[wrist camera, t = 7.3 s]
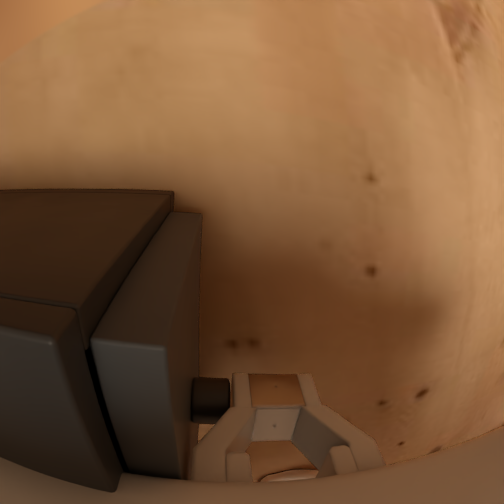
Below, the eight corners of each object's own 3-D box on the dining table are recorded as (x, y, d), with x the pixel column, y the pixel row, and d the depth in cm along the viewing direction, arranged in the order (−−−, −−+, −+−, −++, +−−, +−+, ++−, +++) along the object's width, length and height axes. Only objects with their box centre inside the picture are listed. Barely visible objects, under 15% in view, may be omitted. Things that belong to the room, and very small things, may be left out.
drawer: (235, 215, 12) (253, 352, 4) (222, 414, 15) (227, 550, 8) (-54, 207, 10) (-162, 266, 3) (-9, 373, 14) (-64, 460, 6)
